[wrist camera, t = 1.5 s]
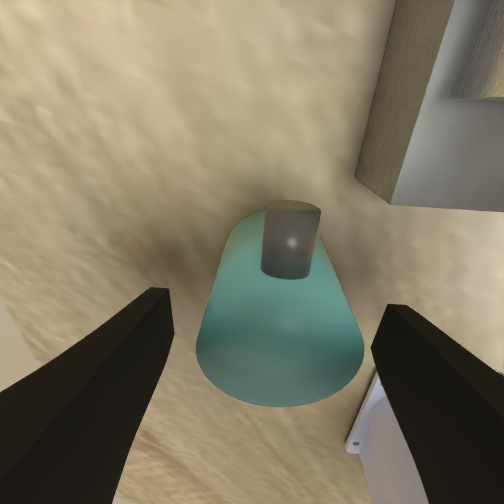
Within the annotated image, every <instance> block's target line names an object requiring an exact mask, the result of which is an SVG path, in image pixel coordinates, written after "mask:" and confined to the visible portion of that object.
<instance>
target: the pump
mask: <svg viewBox="0 0 504 504" xmlns="http://www.w3.org/2000/svg"><path fill="white" fill-rule="evenodd" d="M320 215H321V211H320V209H319V208H317V207H316V206H314V205H312V204H309V203H305V202H301V201H294V200H278V201H272V202H270V203H268V204H266V207H265V210H262V211H258V212H255V213H253V214H250V215H249V216H247V217H245V218H244V219H242V220H241V221H240V222H239V223H238V224H236V225H235V227H234V228H233V229H232V230H231V232H230V234H229V236H228V238H227V241H226V244H225V247H224V251H223V254H222V257H221V261H220V264H219V267H218V271H217V274H216V277H215V281H214V284H213V287H212V291H211V294H210V297H209V301H208V304H207V307H206V311H205V314H204V317H203V321H202V324H201V327H200V331H199V334H198V338H197V342H196V354H197V360H198V362H199V365H200V367H201V369H202V371H203V373H204V374H205V375H206V377H207V378H208V379H209V380H210V381H211V382H212V383H213V384H214V385H215V386H216V387H218V388H219V389H220V390H222V391H223V392H225V393H227V394H228V395H230V396H232V397H234V398H237V399H239V400H242V401H245V402H248V403H252V404H256V405H261V406H269V407H292V406H300V405H305V404H309V403H313V402H316V401H319V400H322V399H324V398H327V397H329V396H331V395H333V394H335V393H336V392H338V391H339V390H341V389H342V388H343V387H344V386H346V385H347V384H348V383H349V382H350V381H351V380H352V379H353V378H354V376H355V375H356V373H357V372H358V370H359V368H360V366H361V364H362V361H363V357H364V341H363V338H362V335H361V332H360V329H359V327H358V325H357V322H356V320H355V318H354V315H353V313H352V311H351V308H350V306H349V303H348V301H347V299H346V296H345V294H344V292H343V289H342V287H341V284H340V282H339V280H338V277H337V275H336V273H335V270H334V268H333V266H332V263H331V261H330V258H329V256H328V254H327V251H326V249H325V247H324V244H323V242H322V240H321V237H320V235H319V233H318V231H317V230H318V225H319V220H320Z"/></svg>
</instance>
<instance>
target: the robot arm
mask: <svg viewBox="0 0 504 504" xmlns="http://www.w3.org/2000/svg"><path fill="white" fill-rule="evenodd" d="M174 334H175V333H174V325H173V317H172V309H171V301H170V293H169V289H168V288H154V287H150V288H149V289H148V290H146V291H145V292H144V293H142V294H141V295H140V296H139V297H137V298H136V299H135V300H133V301H132V302H131V303H130V304H128V305H127V306H126V307H125V308H123V309H122V310H121V311H119V312H118V313H117V314H116V315H114V316H113V317H112V318H110V319H109V320H108V321H106V322H105V323H104V324H102V325H101V326H100V327H99V328H97V329H96V330H95V331H93V332H92V333H90V334H89V335H87V336H86V337H85V338H83V339H82V340H80V341H79V342H77V343H76V344H75V345H73V346H72V347H70V348H69V349H68V350H66V351H65V352H63V353H62V354H60V355H59V356H58V357H56V358H54V359H53V360H51V361H50V362H48V363H47V364H45V365H44V366H42V367H41V368H39V369H38V370H36V371H35V372H33V373H31V374H30V375H28V376H26V377H25V378H23V379H21V380H20V381H18V382H16V383H15V384H13V385H11V386H10V387H8V388H7V389H5V390H3V391H1V392H0V504H112V502H113V498H114V495H115V492H116V489H117V486H118V483H119V480H120V477H121V474H122V471H123V468H124V465H125V462H126V459H127V456H128V453H129V450H130V448H131V445H132V442H133V440H134V437H135V435H136V432H137V430H138V428H139V425H140V423H141V421H142V418H143V416H144V414H145V411H146V409H147V407H148V404H149V402H150V400H151V397H152V395H153V393H154V390H155V388H156V385H157V383H158V381H159V378H160V376H161V374H162V371H163V369H164V366H165V364H166V361H167V358H168V355H169V351H170V348H171V344H172V341H173V337H174ZM371 351H372V355H373V359H374V363H375V366H376V369H377V372H376V374H375V376H374V379H373V381H372V383H371V386H370V388H369V390H368V393H367V395H366V397H365V400H364V402H363V404H362V407H361V409H360V411H359V414H358V416H357V418H356V421H355V423H354V425H353V428H352V430H351V432H350V435H349V437H348V439H347V442H346V444H345V448H346V451H347V452H348V453H351V454H359V455H360V459H361V463H362V466H363V470H364V474H365V478H366V481H367V485H368V489H369V492H370V496H371V500H372V504H504V376H502V375H500V374H499V373H498V372H496V371H495V370H493V369H492V368H491V367H489V366H488V365H486V364H485V363H484V362H482V361H481V360H480V359H478V358H477V357H476V356H474V355H473V354H472V353H470V352H469V351H468V350H466V349H465V348H464V347H462V346H461V345H460V344H458V343H457V342H456V341H454V340H453V339H452V338H450V337H449V336H448V335H447V334H445V333H444V332H443V331H441V330H440V329H439V328H437V327H436V326H435V325H433V324H432V323H431V322H429V321H428V320H427V319H425V318H424V317H423V316H421V315H420V314H419V313H417V312H416V311H414V310H413V309H412V308H410V307H409V306H407V305H398V304H387V307H386V309H385V312H384V314H383V317H382V320H381V322H380V325H379V327H378V330H377V332H376V335H375V337H374V340H373V343H372V345H371Z"/></svg>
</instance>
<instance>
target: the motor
mask: <svg viewBox="0 0 504 504" xmlns="http://www.w3.org/2000/svg"><path fill="white" fill-rule="evenodd" d="M355 178H356V179H358V180H359V181H360V182H361V183H363V184H364V185H365V186H367V187H368V188H369V189H370V190H372V191H373V192H374V193H376V194H377V195H378V196H379V197H381V198H382V199H383V200H385V201H386V202H387V203H388V204H390V205H403V206H418V207H433V208H448V209H463V210H478V211H493V212H504V0H397V4H396V8H395V12H394V16H393V20H392V25H391V29H390V33H389V37H388V41H387V45H386V50H385V54H384V58H383V62H382V66H381V71H380V75H379V79H378V83H377V87H376V91H375V96H374V100H373V104H372V108H371V112H370V117H369V121H368V125H367V129H366V133H365V137H364V142H363V146H362V150H361V154H360V158H359V162H358V167H357V171H356V175H355Z"/></svg>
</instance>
